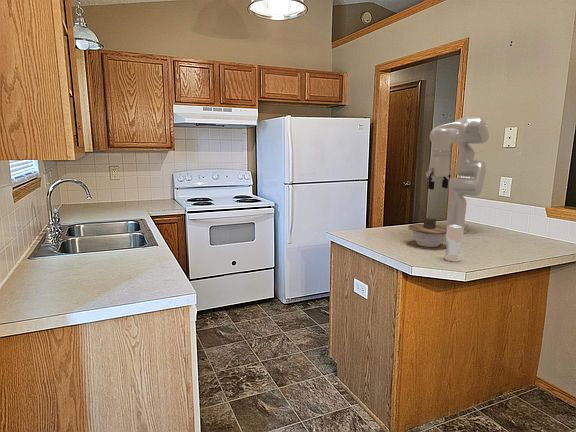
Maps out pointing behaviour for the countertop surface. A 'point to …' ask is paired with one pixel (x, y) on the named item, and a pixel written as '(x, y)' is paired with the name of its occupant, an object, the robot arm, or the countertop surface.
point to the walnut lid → (428, 227)
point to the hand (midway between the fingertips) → (437, 188)
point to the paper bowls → (428, 239)
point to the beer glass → (453, 242)
